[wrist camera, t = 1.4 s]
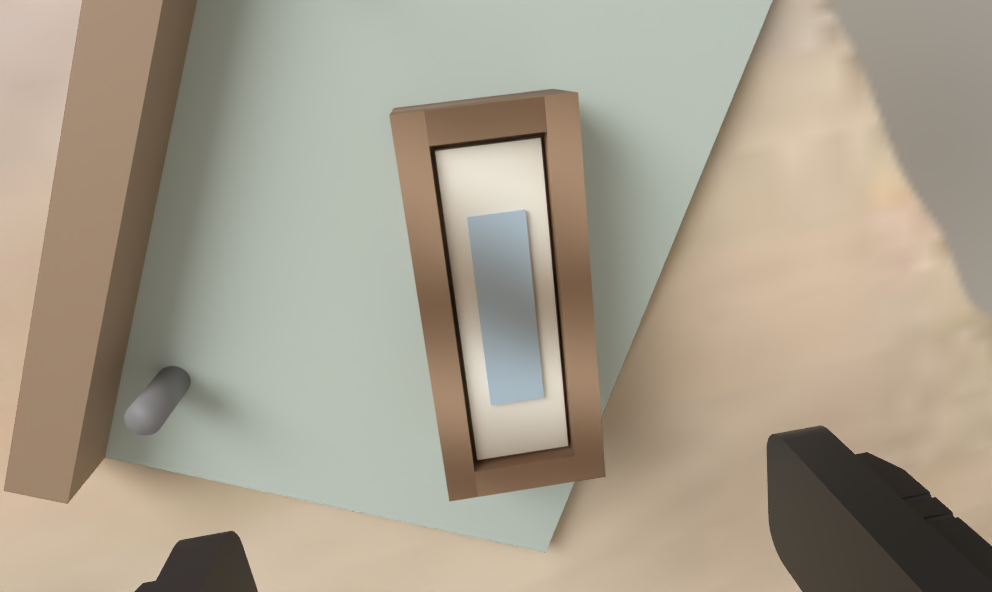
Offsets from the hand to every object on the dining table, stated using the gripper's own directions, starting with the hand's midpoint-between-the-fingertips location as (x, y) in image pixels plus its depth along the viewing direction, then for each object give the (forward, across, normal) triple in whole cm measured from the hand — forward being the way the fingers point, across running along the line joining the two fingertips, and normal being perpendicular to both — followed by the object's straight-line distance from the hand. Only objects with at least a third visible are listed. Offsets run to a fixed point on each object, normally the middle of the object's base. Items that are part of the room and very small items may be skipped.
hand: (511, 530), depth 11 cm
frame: (+16, -1, +1) cm, 16 cm away
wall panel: (+17, +2, -2) cm, 17 cm away
